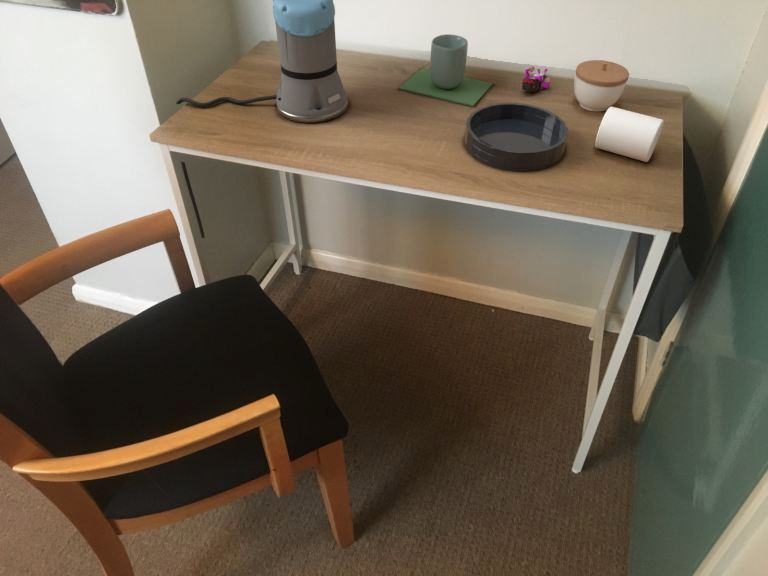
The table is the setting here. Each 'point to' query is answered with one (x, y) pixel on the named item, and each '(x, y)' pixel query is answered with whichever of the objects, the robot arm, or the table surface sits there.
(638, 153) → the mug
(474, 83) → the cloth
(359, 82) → the table surface
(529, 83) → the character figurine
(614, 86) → the trinket box
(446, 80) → the cup
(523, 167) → the shallow round tray
